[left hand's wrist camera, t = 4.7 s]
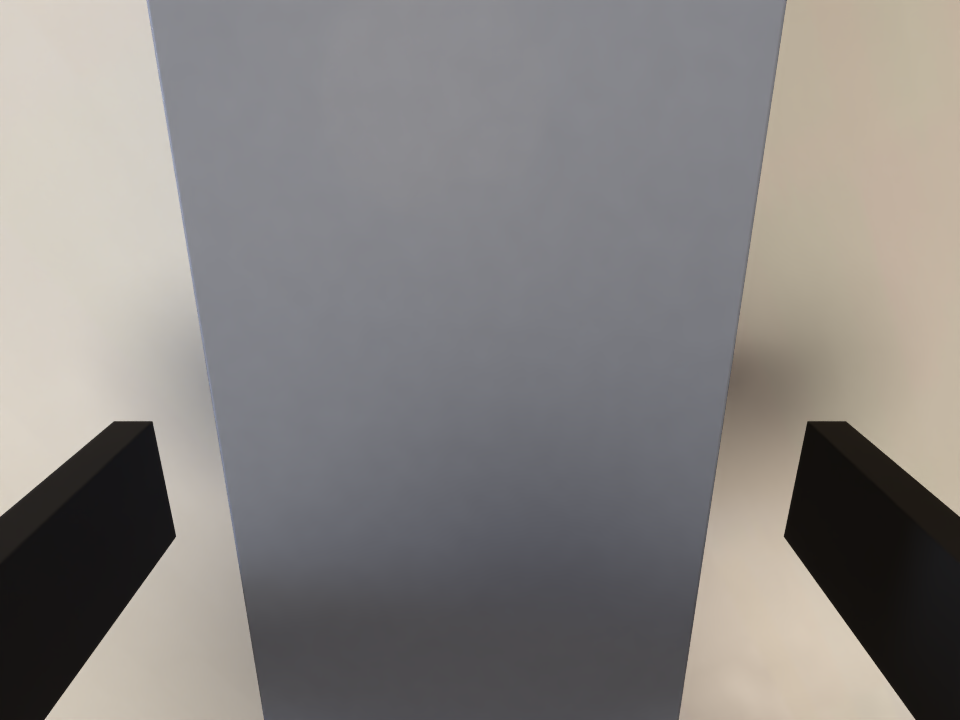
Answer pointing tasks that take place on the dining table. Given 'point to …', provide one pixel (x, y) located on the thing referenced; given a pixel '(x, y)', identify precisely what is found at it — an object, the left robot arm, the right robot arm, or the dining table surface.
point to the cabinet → (468, 334)
